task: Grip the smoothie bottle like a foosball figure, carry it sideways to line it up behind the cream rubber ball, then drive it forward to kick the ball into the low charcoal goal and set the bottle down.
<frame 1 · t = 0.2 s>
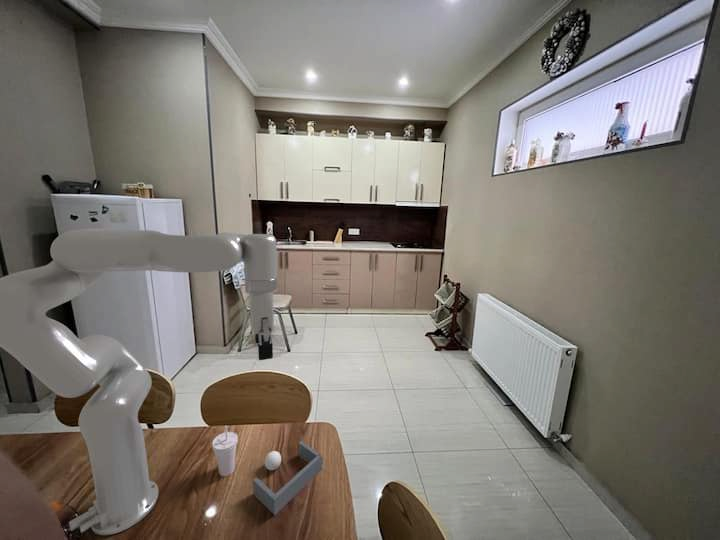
hand: (263, 350, 73), 36 cm above the table, tool pointing down, fingers open, 9 cm apart
smoothie: (226, 471, 79), on the table
goal: (290, 481, 77), on the table
ball: (273, 460, 80), point 2 cm above the table
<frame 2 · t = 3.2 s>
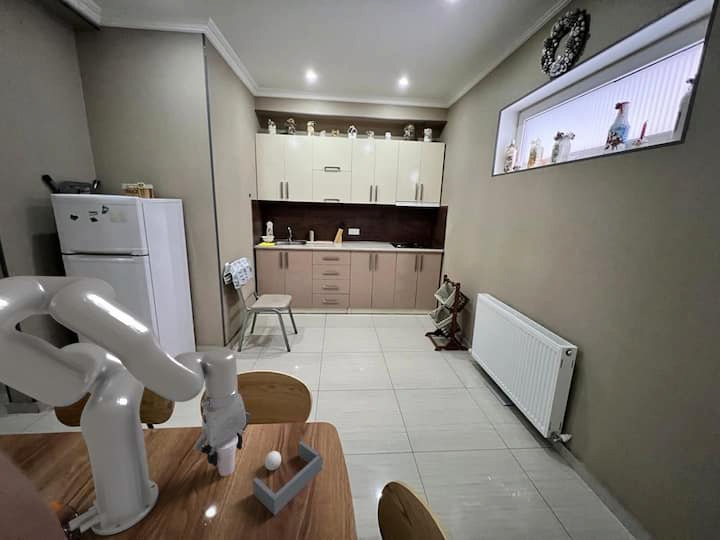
hand: (226, 454, 78), 5 cm above the table, tool pointing down, fingers closed on smoothie, 6 cm apart
smoothie: (226, 471, 79), on the table, touching gripper
everything else where it was.
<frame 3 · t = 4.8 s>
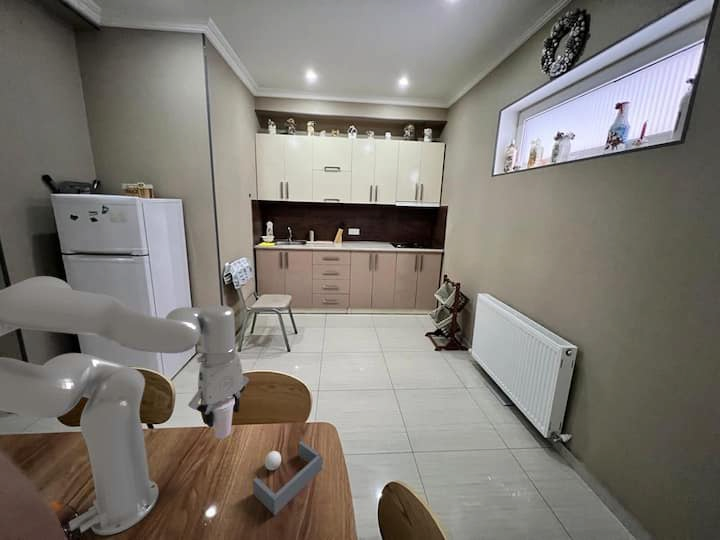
hand: (222, 416, 76), 17 cm above the table, tool pointing down, fingers closed on smoothie, 6 cm apart
smoothie: (222, 434, 77), point 12 cm above the table, touching gripper
everything else where it was.
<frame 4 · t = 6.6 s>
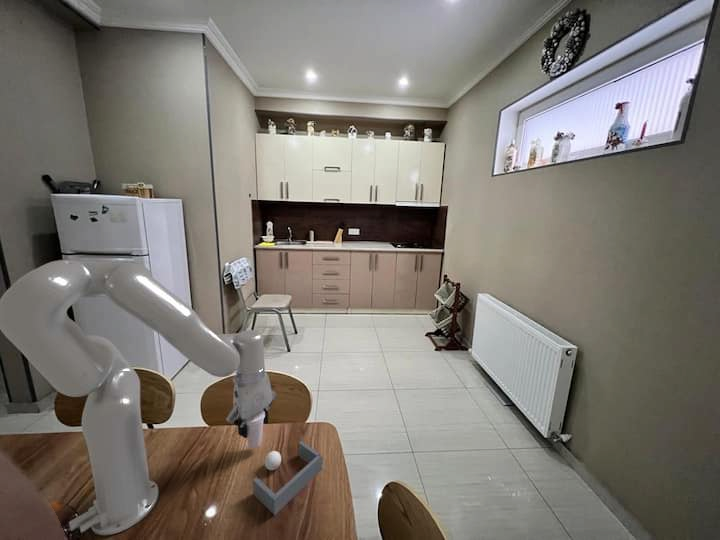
hand: (254, 428, 85), 8 cm above the table, tool pointing down, fingers closed on smoothie, 6 cm apart
smoothie: (255, 443, 86), point 2 cm above the table, touching gripper
everything else where it was.
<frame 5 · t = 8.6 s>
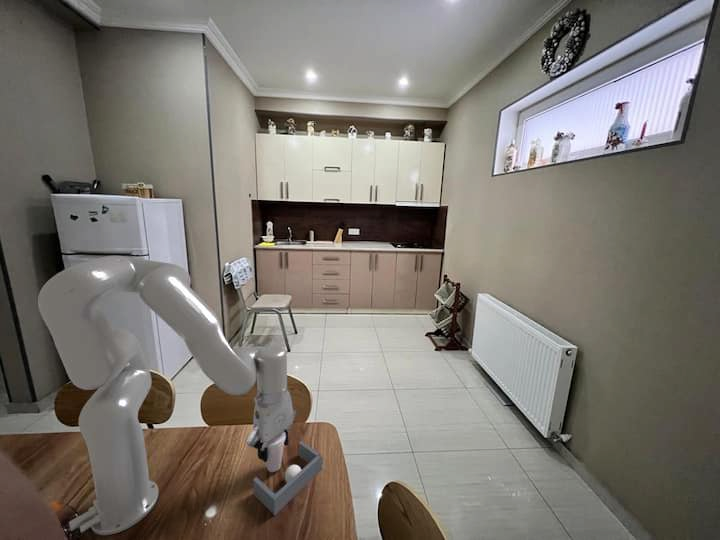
hand: (273, 450, 79), 6 cm above the table, tool pointing down, fingers closed on smoothie, 6 cm apart
smoothie: (274, 466, 80), point 1 cm above the table, touching gripper
ball: (293, 474, 76), point 2 cm above the table, tilted 162°
when the fingers open (6 cm above the table, at t = 10.1 s): smoothie stays where it is, on the table.
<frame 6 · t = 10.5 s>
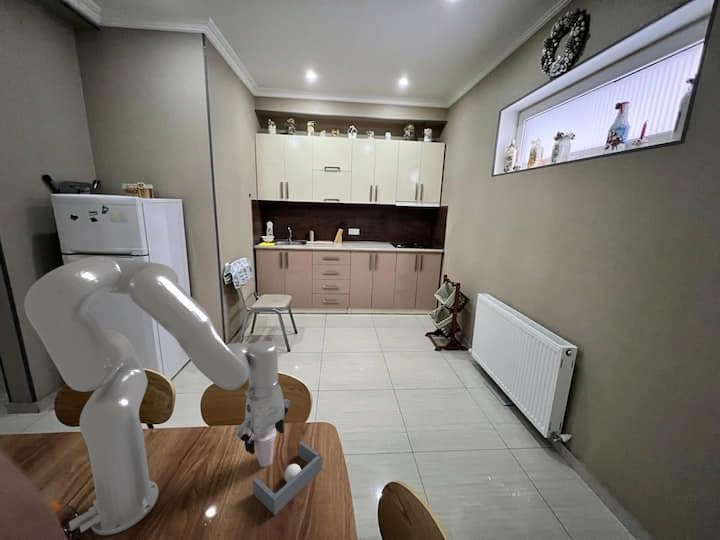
hand: (265, 440, 81), 7 cm above the table, tool pointing down, fingers open, 9 cm apart
smoothie: (265, 462, 83), on the table
ball: (293, 473, 76), point 2 cm above the table, tilted 168°
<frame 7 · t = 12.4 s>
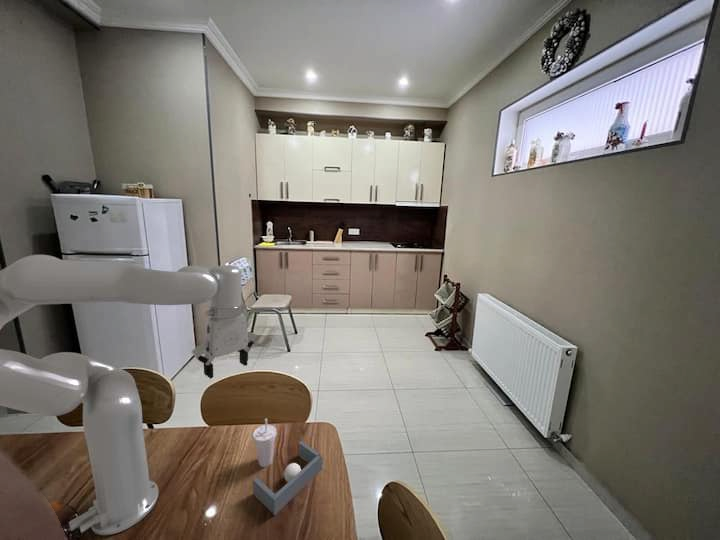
hand: (227, 369, 80), 27 cm above the table, tool pointing down, fingers open, 9 cm apart
nothing on the table moved.
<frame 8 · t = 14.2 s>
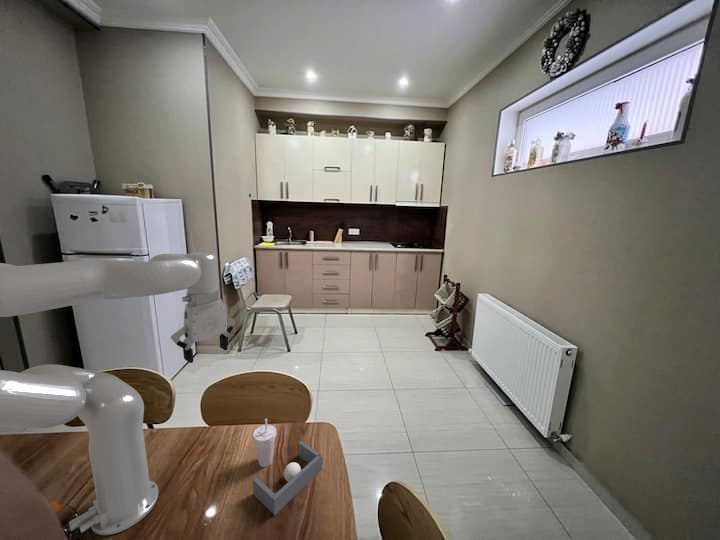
hand: (207, 354, 82), 30 cm above the table, tool pointing down, fingers open, 9 cm apart
nothing on the table moved.
at the end: ball inside the target area on the goal (0.9 cm from its centre), point 2.2 cm above the goal's base; smoothie tilted 0°; the gripper is holding nothing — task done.
